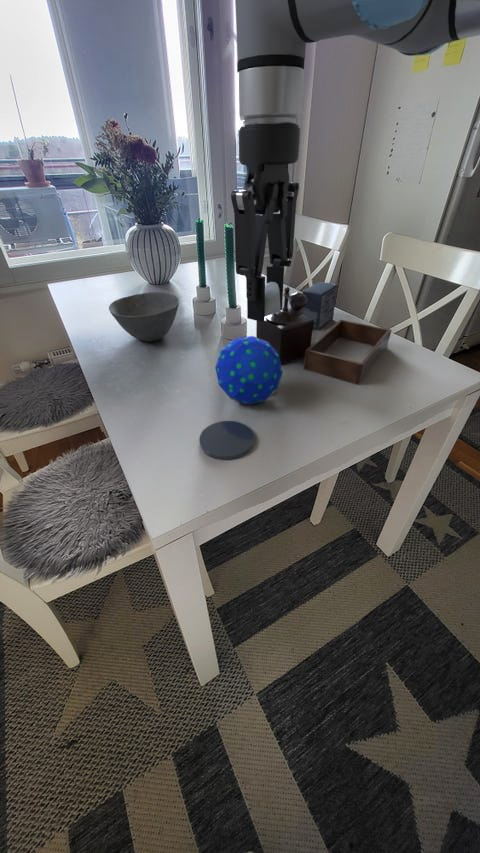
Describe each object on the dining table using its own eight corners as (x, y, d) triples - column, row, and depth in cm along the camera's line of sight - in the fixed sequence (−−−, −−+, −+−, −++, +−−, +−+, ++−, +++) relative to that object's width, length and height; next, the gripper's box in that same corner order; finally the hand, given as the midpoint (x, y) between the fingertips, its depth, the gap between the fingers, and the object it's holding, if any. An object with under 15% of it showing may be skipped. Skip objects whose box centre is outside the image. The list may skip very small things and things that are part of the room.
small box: (314, 314, 110) (318, 280, 103) (333, 319, 107) (338, 283, 100) (298, 326, 103) (301, 290, 97) (318, 330, 100) (323, 294, 94)
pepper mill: (252, 351, 91) (252, 279, 80) (285, 340, 96) (289, 271, 85) (290, 375, 81) (296, 297, 70) (325, 362, 86) (336, 287, 74)
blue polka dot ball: (252, 335, 80) (273, 315, 66) (278, 390, 82) (305, 382, 67) (198, 360, 77) (208, 346, 63) (226, 417, 79) (242, 415, 64)
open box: (386, 347, 91) (391, 329, 88) (358, 385, 77) (363, 365, 74) (337, 336, 97) (340, 319, 94) (303, 369, 83) (305, 350, 80)
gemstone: (301, 296, 54) (280, 279, 51) (282, 332, 55) (260, 318, 52) (278, 292, 59) (258, 276, 56) (261, 325, 60) (240, 311, 57)
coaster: (264, 435, 64) (264, 432, 64) (233, 467, 58) (233, 464, 57) (221, 417, 69) (221, 414, 68) (188, 446, 62) (187, 443, 62)
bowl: (174, 320, 109) (169, 287, 103) (191, 343, 96) (187, 307, 89) (113, 331, 104) (104, 297, 97) (123, 357, 90) (113, 320, 84)
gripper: (279, 126, 49) (273, 294, 63) (196, 122, 38) (212, 327, 52) (329, 123, 45) (310, 301, 60) (254, 118, 34) (254, 339, 49)
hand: (265, 313), depth 56 cm, fingers closed on gemstone, 5 cm apart
